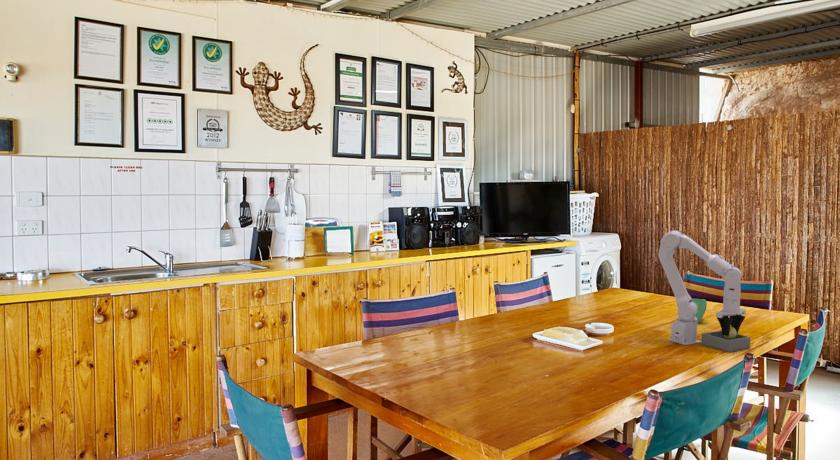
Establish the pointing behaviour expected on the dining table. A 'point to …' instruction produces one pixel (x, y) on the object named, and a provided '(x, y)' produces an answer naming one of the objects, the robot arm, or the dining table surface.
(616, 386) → the dining table surface
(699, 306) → the mug
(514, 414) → the dining table surface
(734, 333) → the lime
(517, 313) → the dining table surface
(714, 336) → the tub
